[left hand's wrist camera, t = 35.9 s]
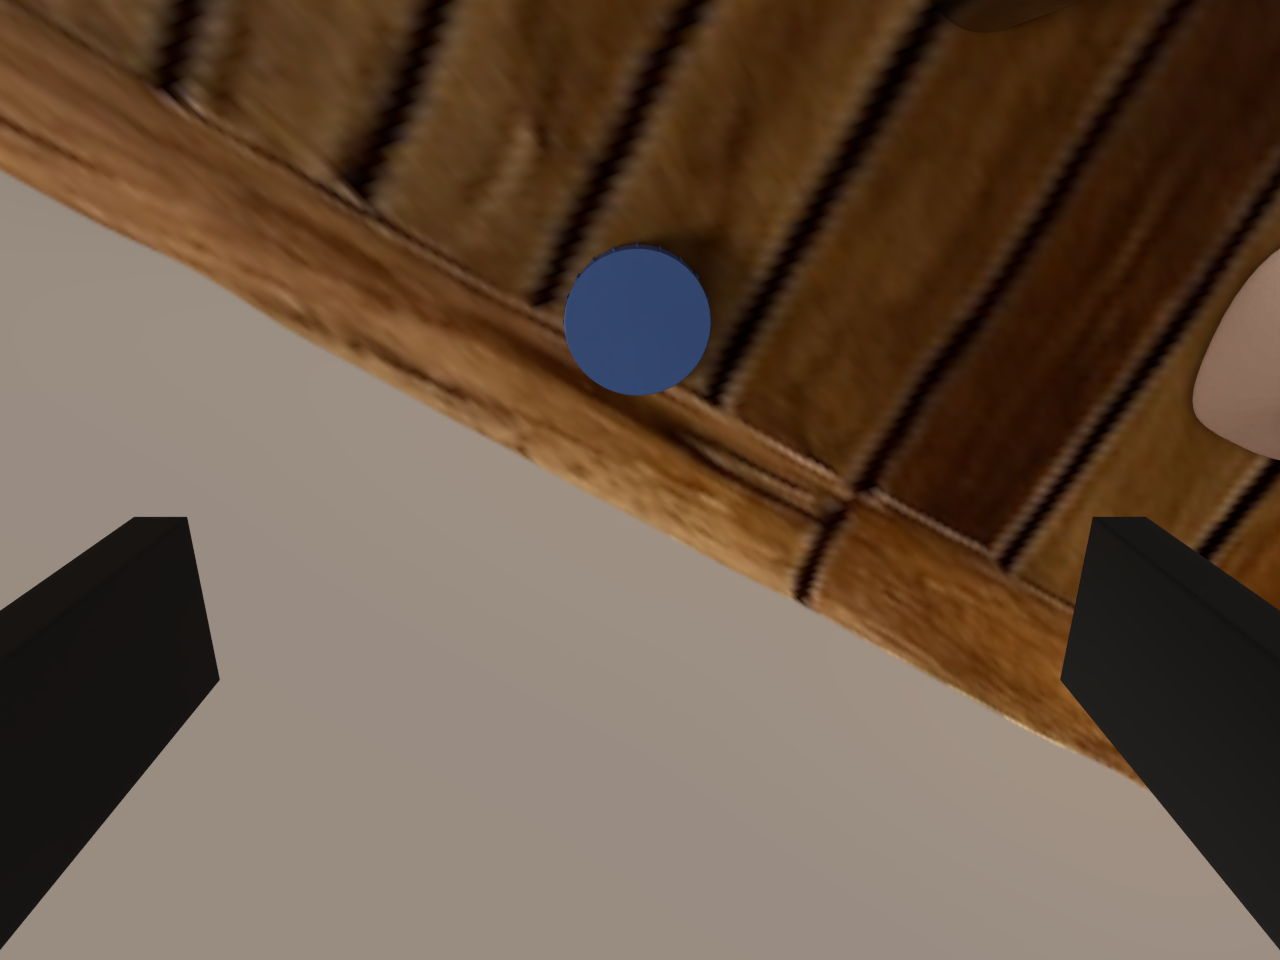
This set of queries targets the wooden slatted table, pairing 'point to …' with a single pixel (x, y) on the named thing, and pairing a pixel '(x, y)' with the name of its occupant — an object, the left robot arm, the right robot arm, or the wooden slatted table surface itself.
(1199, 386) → the anatomical model
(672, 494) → the wooden slatted table surface
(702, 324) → the lid
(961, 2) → the jar
